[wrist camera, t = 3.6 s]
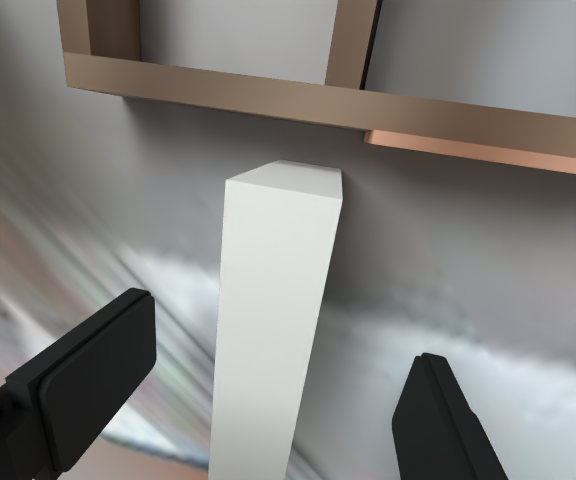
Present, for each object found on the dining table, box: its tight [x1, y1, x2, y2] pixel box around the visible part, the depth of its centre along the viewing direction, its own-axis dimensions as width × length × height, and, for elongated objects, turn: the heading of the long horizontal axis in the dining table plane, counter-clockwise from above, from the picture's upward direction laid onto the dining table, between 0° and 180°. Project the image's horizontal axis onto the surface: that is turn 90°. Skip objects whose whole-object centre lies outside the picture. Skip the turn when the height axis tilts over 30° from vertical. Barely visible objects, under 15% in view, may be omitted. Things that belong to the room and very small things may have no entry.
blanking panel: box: [208, 159, 343, 480], centre depth 9 cm, size 2×12×5 cm, turn 171°
